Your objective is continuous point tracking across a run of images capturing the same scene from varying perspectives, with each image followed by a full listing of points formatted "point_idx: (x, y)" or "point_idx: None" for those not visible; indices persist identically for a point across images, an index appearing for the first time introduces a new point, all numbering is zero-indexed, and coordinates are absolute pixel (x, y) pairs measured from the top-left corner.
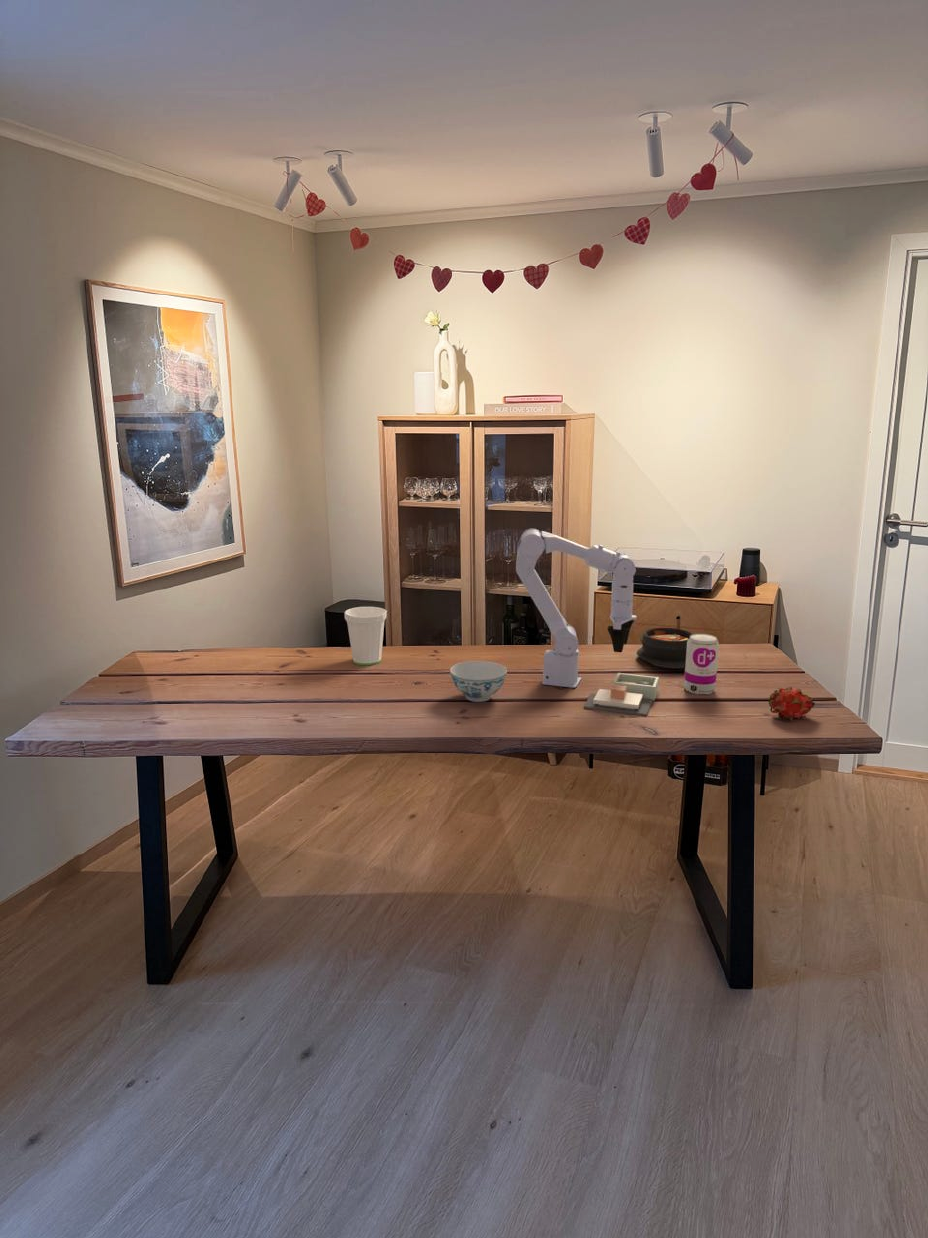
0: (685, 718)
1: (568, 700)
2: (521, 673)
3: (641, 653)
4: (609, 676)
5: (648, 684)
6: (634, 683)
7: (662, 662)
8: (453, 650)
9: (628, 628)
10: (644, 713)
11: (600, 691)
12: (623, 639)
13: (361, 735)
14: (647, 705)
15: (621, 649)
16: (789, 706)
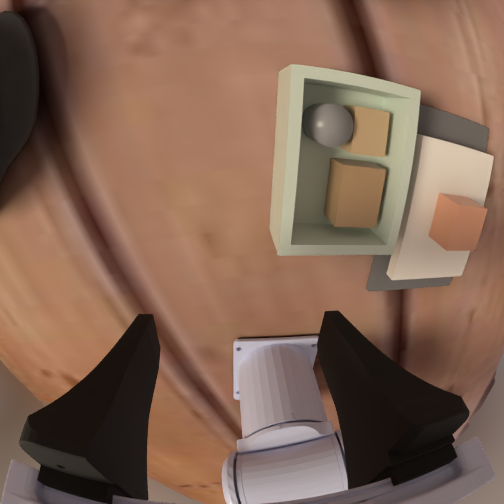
0: (475, 28)
1: (401, 323)
2: (237, 427)
3: None
4: (164, 271)
5: (347, 111)
6: (352, 171)
7: (3, 117)
8: (168, 479)
9: (427, 429)
10: (487, 134)
11: (410, 273)
12: (400, 369)
13: (461, 426)
14: (442, 118)
15: (348, 324)
16: None
